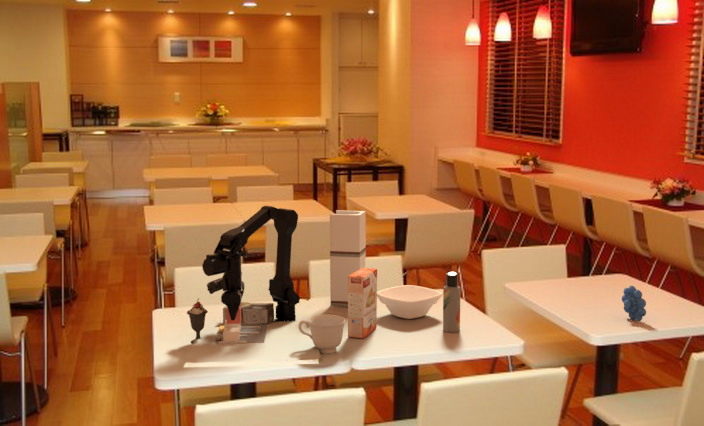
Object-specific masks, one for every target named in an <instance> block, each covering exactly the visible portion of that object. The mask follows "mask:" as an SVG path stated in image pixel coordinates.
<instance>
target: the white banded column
mask: <svg viewBox="0 0 704 426" xmlns="http://www.w3.org/2000/svg"><path fill="white" fill-rule="evenodd" d="M366 215H367V212H366V210H342V209H340V210H339V209H337V210H335V213H329V259H330V260H329V268H330V269H329V271H330V272H329V276H330V277H329V278H330V279H329V281H330V282H329V283H330V287H329V289H330V290H329V291H330V307H341V306H345V307H344V308H346V307H347V308H348V276H349V275H351V274H353V273H354V272H356V271H358V270H359V269H361V268H366V255H367V253H366V252H367V250H366V249H367V248H366V247H367V244H366V243H367V238H366V237H367V230H366V229H367V227H366V226H367V225H366V223H367V222H366V221H367V218H366V217H367V216H366Z"/></svg>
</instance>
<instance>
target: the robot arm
mask: <svg viewBox="0 0 704 426" xmlns="http://www.w3.org/2000/svg"><path fill="white" fill-rule="evenodd" d="M271 220H273V227H274V229H275V231H276V233H277V244H276V261H275V263H276V265H275V274H274V276H273V278H270V279H269V281H268V283H269V284H268V289H267V290H268V292H269V294H270V296H271V297H272V301H273V302H274V303H276V306H275V319H276V322H296V319H297V317H296V316H297V315H296V305H297V304H299V303H300V299H301V297H300V295H299V294H298V293H297V292H296V291H295V286H294V281H293V279H292V276H291V261H292V260H291V259H292V258H291V257H292V256H291V255H292V242H293V241H292V239H293V233H294V232H295V231H296V229H297V227H298V221H299V213H298V212H297V211H295V210H294V209H291V208H290V209H289V208H281V207H280V208H277V207H275V206H273V205H263V206H261V208H260V209H259V210H258V211H257V212H255V213H254V214H253V215H251V216H250V218H248V219H247V220H246V221H244V222H243V223H242V224H241V225H239V226H238V227H237V226H236V228H235V227H234V228H231V229H229V230H227V231H226V232H224V233H222V234H221V236H220V237H219V238H220V240H219V241H218V243H217V245H216V247H215V249H214V251H213V253H211V254H206V255H205V256H206V258H205V259H204V260H203V262H202V268H201V269H202V270H203V273H204V274H205V276H207V277H212V276H216V275H217V276H218V275H221V274H223V275H222V277H220V278H217V279H215V280H211V281H209V282H208V283H207V284H206V287H207V288H206V289H207V291H208V293H209V294H210V295H212V294H214V293H216V292H219V291H221V290H222V292H223V293H222V294H221V297H220V301H221V303H222V304H224V305H225V306H227V307H228V310H229V314H230V318H231V320H235V317H236V315H237V312H238V309H239V306H240V303H241V302H242V298H243V295H244V293H245V288H246V287H245V286H246V285H245V282H244V281H243V280H242V276H243V272H242V257H244V256H247V253H246V252H245V251H243V248H245V246H246V245H247V243H248V241H249V238H250V237H251V236H253V234H255V233H256V232H257V231H258V230H260V229H261V228H262V227H263V226H265V225H266V224H267V223H268V222H270V221H271Z"/></svg>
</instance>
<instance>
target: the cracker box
mask: <svg viewBox="0 0 704 426" xmlns="http://www.w3.org/2000/svg"><path fill="white" fill-rule="evenodd" d="M377 292H378V268H373V267H372V268H371V267H365V268H361V269H359V270H358V271H356V272H354V273H353V274H351V275H349V276H348V307H347V337H348V338H354V339H355V338H356V339H364V338H366V337H367V336H368V335H370V333H371V332H373V331H374V330H375V329H376V328H377V323H378V322H377V318H378V317H377V315H378V314H377V313H378V311H377V309H378V308H377V307H378V306H377V305H378V301H377V300H378V297H377Z"/></svg>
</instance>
